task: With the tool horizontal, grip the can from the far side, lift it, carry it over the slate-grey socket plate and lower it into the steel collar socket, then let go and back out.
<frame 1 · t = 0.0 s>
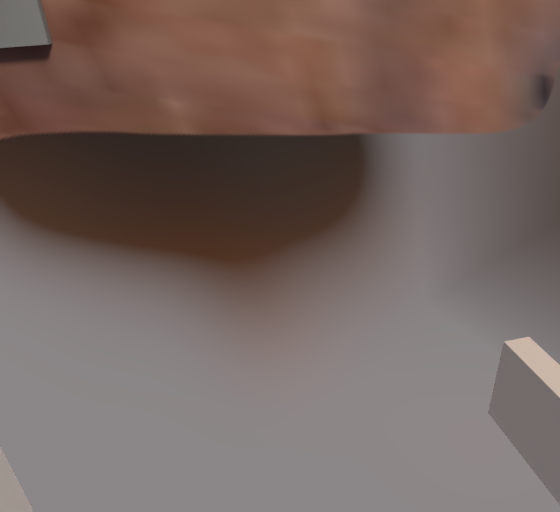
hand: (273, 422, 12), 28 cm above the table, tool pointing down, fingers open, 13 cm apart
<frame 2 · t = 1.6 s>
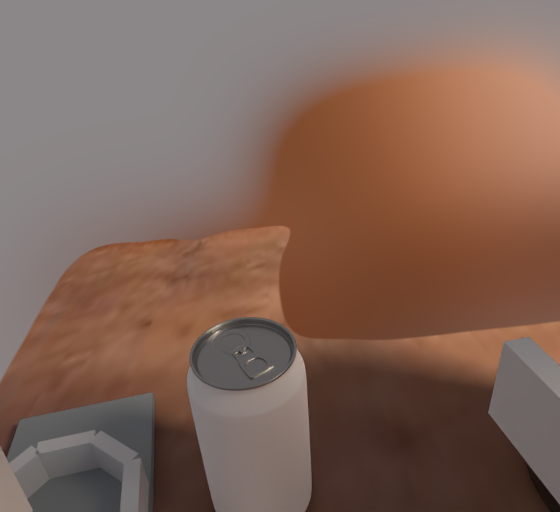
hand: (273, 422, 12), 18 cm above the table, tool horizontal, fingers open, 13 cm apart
can: (262, 493, 30), on the table
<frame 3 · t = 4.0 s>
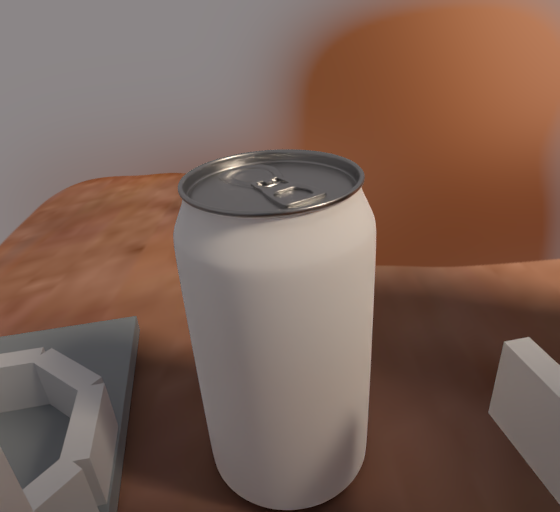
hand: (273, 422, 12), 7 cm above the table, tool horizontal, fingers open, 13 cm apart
can: (289, 447, 20), on the table
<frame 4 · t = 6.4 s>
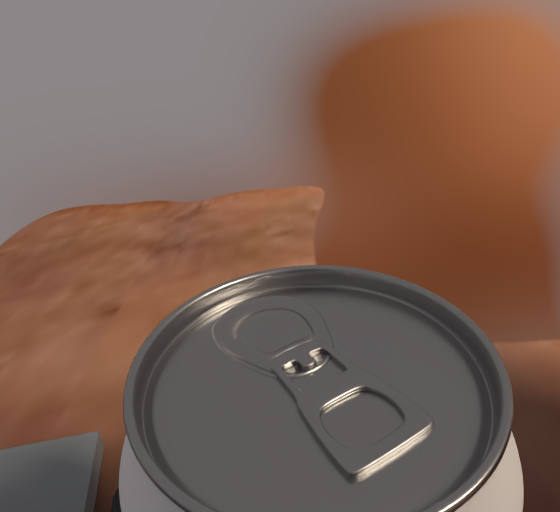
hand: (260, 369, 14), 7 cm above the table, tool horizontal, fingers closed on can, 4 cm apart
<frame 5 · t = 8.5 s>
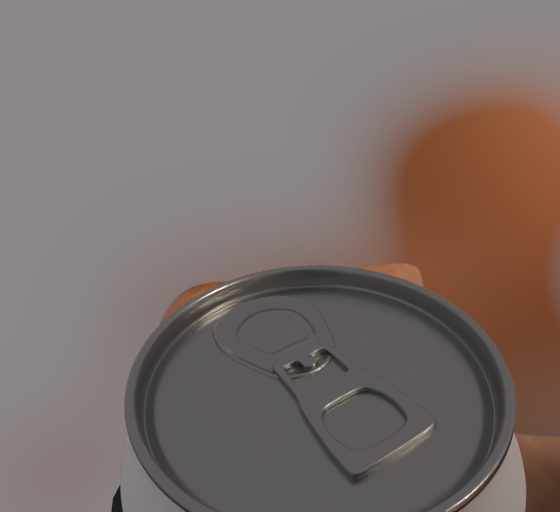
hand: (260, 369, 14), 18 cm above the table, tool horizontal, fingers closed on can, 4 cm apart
when the fingers open (9 cm above the table, at t = 11.0 s): can stays where it is, resting on socket plate.
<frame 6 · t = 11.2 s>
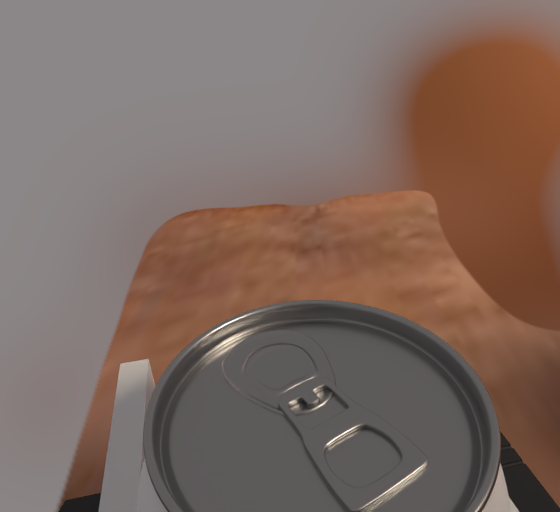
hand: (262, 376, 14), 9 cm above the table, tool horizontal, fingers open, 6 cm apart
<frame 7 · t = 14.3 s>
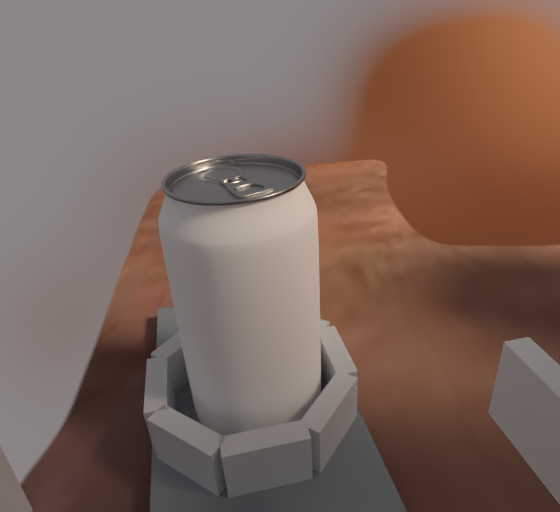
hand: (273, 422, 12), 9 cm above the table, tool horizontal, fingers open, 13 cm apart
can: (258, 401, 24), point 1 cm above the table, touching socket plate
socket plate: (254, 416, 24), on the table
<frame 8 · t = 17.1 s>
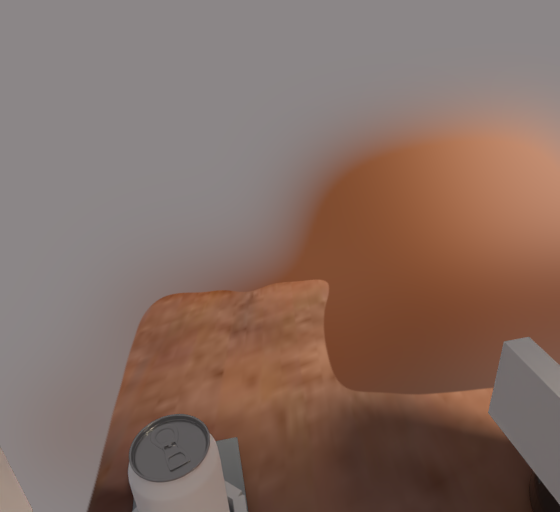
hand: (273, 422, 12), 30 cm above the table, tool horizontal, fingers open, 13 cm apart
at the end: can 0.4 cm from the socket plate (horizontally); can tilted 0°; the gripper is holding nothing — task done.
